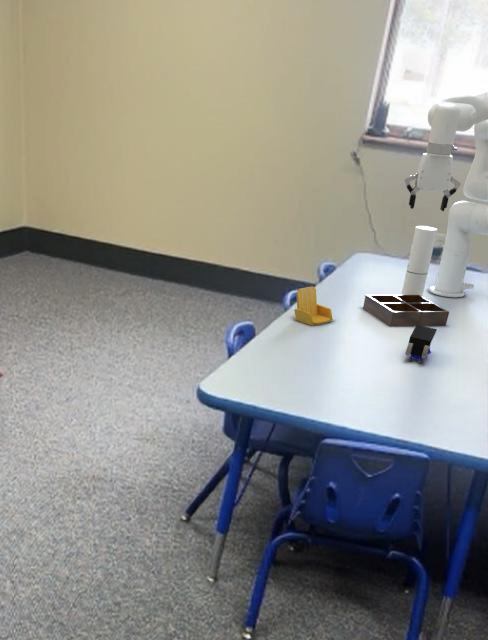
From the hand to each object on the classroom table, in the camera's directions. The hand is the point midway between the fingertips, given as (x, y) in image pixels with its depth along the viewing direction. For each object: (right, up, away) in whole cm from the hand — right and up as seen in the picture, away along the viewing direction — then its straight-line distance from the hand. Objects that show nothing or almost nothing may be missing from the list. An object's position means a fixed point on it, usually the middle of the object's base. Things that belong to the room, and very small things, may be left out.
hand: (426, 209), depth 257 cm
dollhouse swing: (-37, -36, -1) cm, 51 cm away
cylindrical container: (+2, -22, +25) cm, 34 cm away
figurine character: (-11, -54, -26) cm, 60 cm away
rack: (-5, -32, +10) cm, 33 cm away
